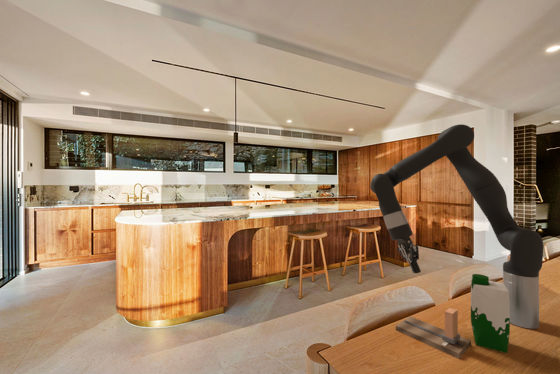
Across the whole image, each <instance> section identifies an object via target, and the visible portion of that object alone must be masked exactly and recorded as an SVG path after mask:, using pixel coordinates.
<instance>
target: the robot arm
mask: <svg viewBox="0 0 560 374" xmlns="http://www.w3.org/2000/svg"><path fill="white" fill-rule="evenodd" d="M474 139H475V132H474V130H473V128H471V126H469V125H466V124H461V123H460V124H454V125H452V126H450V127H448V128H446V129H444V130H442V131H441V132H440V133H439V134H438V136H437V140H435V141H433V142H432V143H431V144H429V145H428V146H426V147H423V148H421V149H420V150H418V151H416V152H413V153H412V154H410V155H408V156H406V157H405V158H403V159H401V160H400V161H398V162H397V163H395V164H393V165H392V166H391V167H390V168H389V169H388V170H386V171H385V172H384V173H377V174H375V175H374V176H373V177H372V179H371V182H370V185H369V187H370V189H371V192H373V194H375V195H376V198H377V201H378V207H379V210H380V212H381V214H382V217H383V221H384V224H385V227H386V229H387V231H388V233H389V236H390V239H391V241H396V242H397V246H398V247H397V248H396V250H397V252H398V253H399V254H400V256H401V257H402V258H403V260H404V261H405V262H406V263H408V264H409V267H410V269H411V272H412V273H413V274H419V273H421V272H422V271H421V269H420V266H419V265H420V264H419V263H418V260H419V259H420V253H419V246H418V245H417V244H414V242H413V240H412V239H411V236H413V235H414V233H413V230H412V228H411V226H410V223H409V221H408V219H407V216H406V215H405V213H404V211H403V209H402V206H401V204H400V201H398V198H397V195H396V190H395V187H396V186H398V185H399V184H400V183H402V182H404V181H406V180H408V179H409V178H411V177H413V176H415V175H416V174H418V173H419V172H421V171H423V170H424V169H425V168H427V167H429V166H431V165H432V164H433V163H435V162H437V161H439V160H440V159H442V158H444V157H446V158H447V159H448V160H449V162H450V163H451V164H452V166H453V167H454V168H455V170H456V172H457V173H458V175H459V177H460V179H462V181H463V183H464V184H465V187H466V189H467V190H468V192H469V193H470V195H471V196H472V198H473V200H474V201H475V202H476V204H477V205H478V207H479V208H480V210H481V211H482V213H483V214H484V216H485V217H486V219H487V221H488V223H489V224H490V226H491V228H492V230H493V233H494V234H495V237H496V239H497V241H498V243H499V244H500V245H501V246H502V247H503V248H504V249H505V250H508V251H509V252H510V257H509V260H508V261H505V262H503V264H502V283H503V284H504V285H505V287H506V288H507V290H508V291H509V302H510V324H512V325H513V326H517V327H520V328H525V329H533V330H535V329H539V328H540V271H541V270H542V267H543V262H544V260H543V259H544V242H543V238H542V236H541V235H540V234H539V233H538V232H537V231H535V230H533V229H530V228H525V227H521V226H520V225H519V224H518V222H516V220H515V219H514V217H513V216H512V214H511V212H510V210H509V207H508V199H507V193H506V191H505V189H504V187H503V185H502V183H500V181H499V180H498V178H497V177H496V175H495V174H494V172H492V171H491V170H490V169H488V168H487V167H486V166H484V164H482V163H481V162H479V160H477V159H476V158H475V157H474V156H473V155H472V153H471V151H470V150H469V148H468V147H469V146H471V144H472V143H473V142H474Z"/></svg>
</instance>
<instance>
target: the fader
mask: <svg viewBox="0 0 560 374" xmlns="http://www.w3.org/2000/svg"><path fill="white" fill-rule="evenodd" d="M458 312H459V311H458V309H457V308H456V309H455V308H453V307H449V308H448V309H446V310H445V311H444V330H445V334H444V335H443V336H442V340H444V341H446V342H449V343H451V344H455V343H456V342H457V341H458V340H459V339H460V336H461V334H460V333H458V331H459V329H458V328H459V327H458V326H459V325H458V324H459V323H458V322H459V321H458V320H459V319H458V317H459V316H458V315H459V314H458Z"/></svg>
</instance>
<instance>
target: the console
mask: <svg viewBox="0 0 560 374" xmlns="http://www.w3.org/2000/svg"><path fill="white" fill-rule="evenodd" d="M395 331H397V332H398V333H401V334H404V335H406V336H409V337H410V338H412V339H414V340H416V341H419V342H421V343H424V344H425V345H427V346H430V347H432V348H434V349H436V350H438V351H441V352H443V353H445V354H448V355H450V356H451V357H454V358H456V359H460V358H461V357H463V355H464V354H465V353H466V351H467V350H468V349H469V348H471V346H472V340H471V339H468V338H466V337H463V336H461V335H460V339H459V340H458V341H457V342H456V343H455V344H451V343H449V342H446V341H444V340H442V336H443V335H444V334H445V328H444V329H443V328H442V327H441V328H440V327H438V326H436V325H433V324H431V323H428V322H425V321H423V320H420V319H418V318H416V317H413V316H408V317H407V318H405V319H404V320H402V321H400V322H398V323H397V324H396V325H395Z"/></svg>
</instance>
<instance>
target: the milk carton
mask: <svg viewBox="0 0 560 374" xmlns="http://www.w3.org/2000/svg"><path fill="white" fill-rule="evenodd" d="M471 276H472V277H471V285H470V286H471V288H470V324H471V329H472V333H473V338H474V343H475V346H478V347H481V348H486V349H489V350H492V351H496V352H501V353H505V354H508V349H509V344H510V343H509V342H510V341H509V340H510V334H511V332H510V331H511V327H510V326H511V325H510V324H511V323H510V302H509V291H508V290H507V288H506V287H505V285H504V284H503V282H497V281H494V280H493V281H492V280H490V278H489V276H488V275H484V274H479V273H472V275H471Z"/></svg>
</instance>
